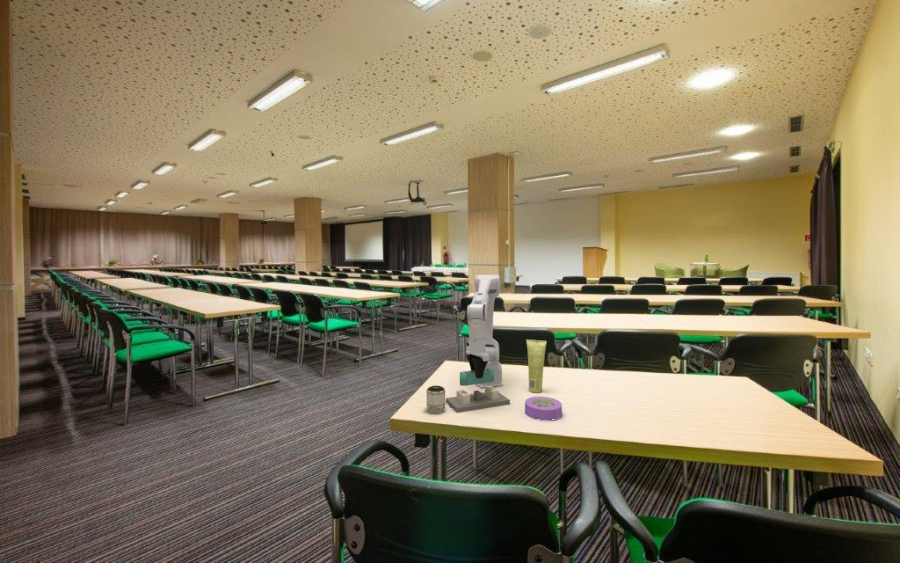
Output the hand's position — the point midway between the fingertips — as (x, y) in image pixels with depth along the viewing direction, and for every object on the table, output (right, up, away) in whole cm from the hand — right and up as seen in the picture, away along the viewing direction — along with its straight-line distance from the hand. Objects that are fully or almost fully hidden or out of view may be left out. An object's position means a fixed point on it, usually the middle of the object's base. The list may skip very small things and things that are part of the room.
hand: (477, 376), depth 136 cm
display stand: (0, -9, 0) cm, 9 cm away
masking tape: (+21, -10, -8) cm, 25 cm away
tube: (+23, -9, +13) cm, 28 cm away
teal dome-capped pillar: (0, -2, 0) cm, 2 cm away
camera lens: (-14, -10, -6) cm, 18 cm away
